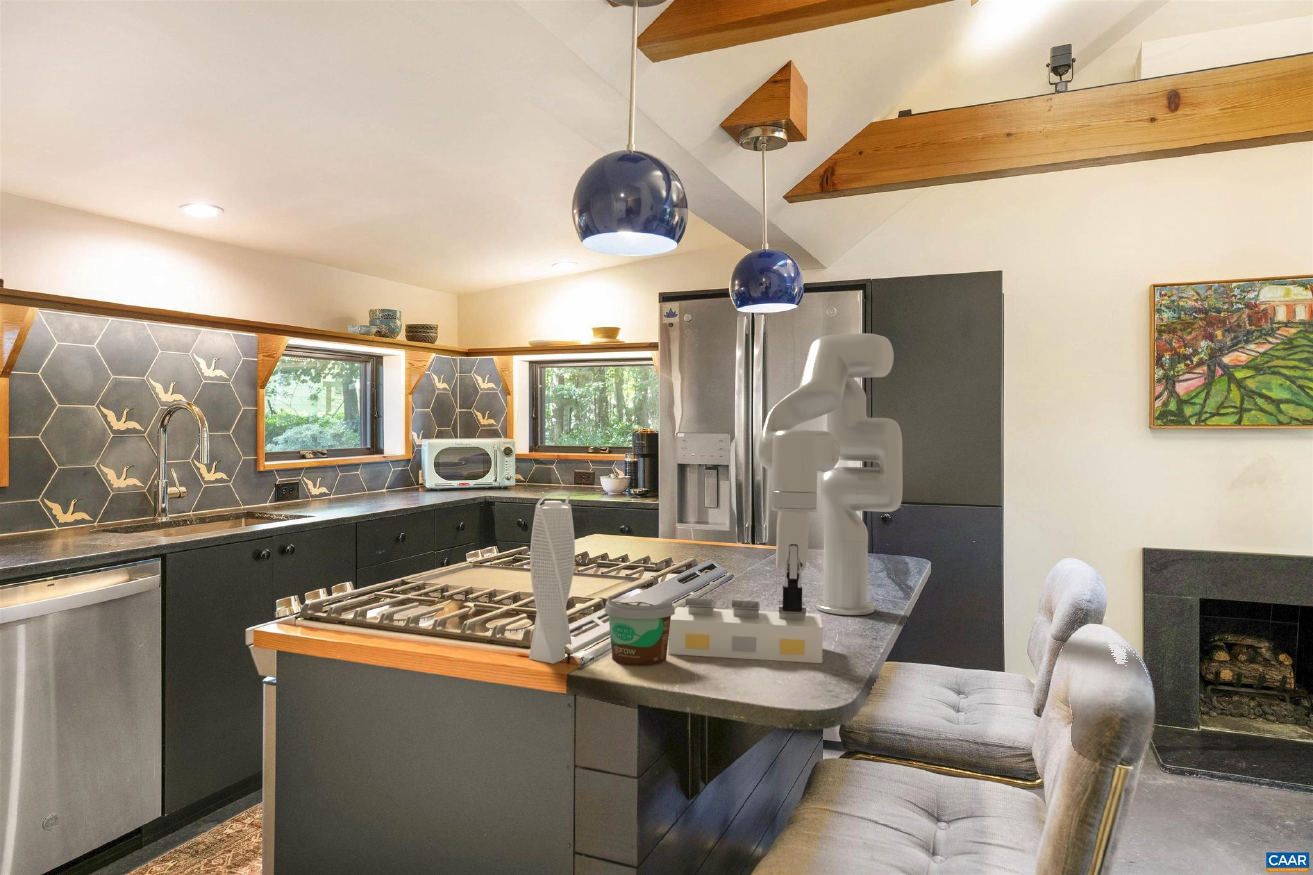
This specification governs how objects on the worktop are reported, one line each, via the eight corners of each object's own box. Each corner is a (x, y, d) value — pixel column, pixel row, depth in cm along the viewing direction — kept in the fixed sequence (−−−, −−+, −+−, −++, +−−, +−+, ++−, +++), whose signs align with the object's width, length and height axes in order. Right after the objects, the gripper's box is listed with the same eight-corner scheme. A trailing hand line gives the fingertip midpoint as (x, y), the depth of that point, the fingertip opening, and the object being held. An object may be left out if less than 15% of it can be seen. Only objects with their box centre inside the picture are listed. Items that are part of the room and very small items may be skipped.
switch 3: (779, 607, 136) (779, 600, 136) (804, 608, 135) (804, 601, 135) (778, 613, 128) (778, 606, 128) (805, 615, 127) (805, 607, 128)
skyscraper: (549, 648, 133) (551, 489, 133) (583, 655, 129) (585, 491, 129) (519, 659, 126) (521, 492, 126) (555, 666, 122) (557, 494, 123)
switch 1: (690, 606, 139) (691, 600, 139) (715, 608, 138) (715, 601, 138) (685, 605, 131) (685, 597, 131) (711, 606, 130) (711, 599, 130)
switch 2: (734, 608, 137) (734, 602, 138) (759, 610, 136) (759, 603, 137) (731, 607, 130) (731, 600, 130) (758, 608, 129) (758, 601, 129)
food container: (591, 663, 125) (592, 602, 125) (606, 653, 130) (607, 595, 130) (661, 671, 120) (662, 609, 120) (674, 661, 126) (675, 601, 126)
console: (676, 639, 140) (677, 600, 140) (819, 647, 136) (819, 607, 136) (668, 654, 130) (668, 612, 130) (822, 663, 126) (822, 620, 126)
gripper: (772, 499, 136) (770, 601, 136) (771, 504, 122) (769, 618, 121) (814, 500, 135) (813, 603, 135) (818, 505, 120) (816, 621, 120)
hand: (792, 610), depth 128 cm, fingers closed
